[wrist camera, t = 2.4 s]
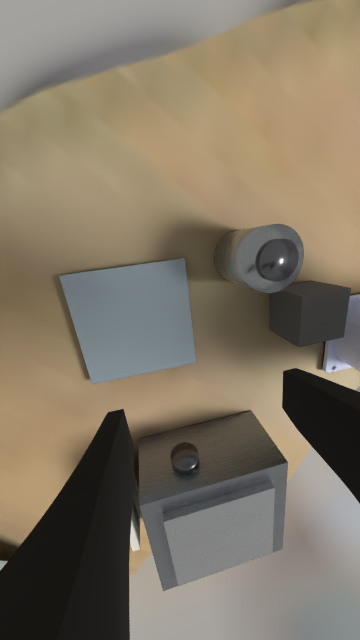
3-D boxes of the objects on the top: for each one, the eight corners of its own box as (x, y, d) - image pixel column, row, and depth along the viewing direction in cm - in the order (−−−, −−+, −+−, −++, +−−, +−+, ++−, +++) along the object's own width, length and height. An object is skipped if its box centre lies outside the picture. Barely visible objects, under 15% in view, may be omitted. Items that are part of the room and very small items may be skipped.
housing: (251, 405, 23) (293, 463, 17) (252, 487, 27) (286, 557, 21) (137, 433, 21) (137, 508, 15) (157, 515, 26) (164, 600, 19)
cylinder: (260, 227, 17) (313, 218, 12) (260, 277, 19) (308, 289, 13) (212, 233, 17) (246, 227, 12) (215, 284, 18) (248, 299, 13)
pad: (183, 258, 17) (184, 258, 16) (194, 359, 20) (196, 362, 19) (61, 274, 16) (59, 276, 15) (93, 380, 19) (91, 384, 18)
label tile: (128, 449, 22) (126, 504, 17) (139, 489, 24) (140, 549, 19) (121, 451, 22) (117, 507, 17) (133, 491, 24) (132, 551, 19)
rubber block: (310, 280, 20) (351, 288, 16) (307, 321, 21) (343, 337, 17) (270, 287, 19) (302, 296, 15) (269, 328, 21) (298, 346, 17)
